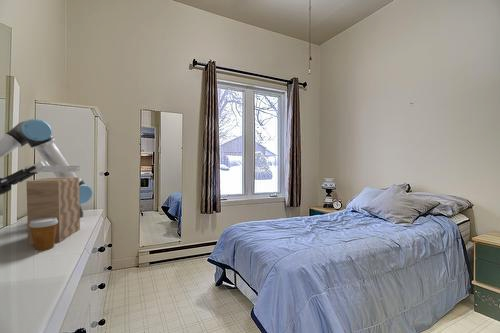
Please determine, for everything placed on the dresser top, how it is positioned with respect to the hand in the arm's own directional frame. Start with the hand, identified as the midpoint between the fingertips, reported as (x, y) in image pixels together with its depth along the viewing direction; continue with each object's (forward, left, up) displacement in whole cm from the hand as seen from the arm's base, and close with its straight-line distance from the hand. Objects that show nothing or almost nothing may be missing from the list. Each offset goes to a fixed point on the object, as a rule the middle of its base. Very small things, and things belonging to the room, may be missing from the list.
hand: (45, 163), depth 124 cm
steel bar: (0, +3, -4) cm, 5 cm away
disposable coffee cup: (+24, +10, -36) cm, 44 cm away
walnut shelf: (+6, +7, -35) cm, 37 cm away
